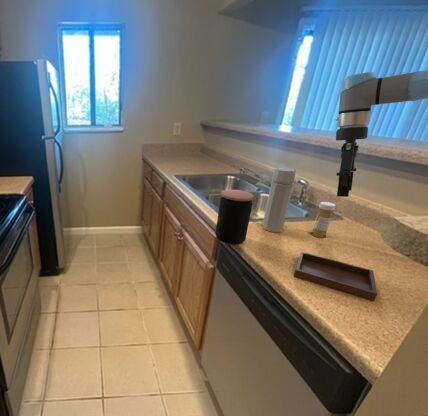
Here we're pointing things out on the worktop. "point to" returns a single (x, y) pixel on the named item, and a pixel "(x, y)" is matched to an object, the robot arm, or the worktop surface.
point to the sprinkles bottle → (323, 219)
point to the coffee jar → (233, 216)
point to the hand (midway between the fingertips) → (344, 193)
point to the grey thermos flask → (278, 199)
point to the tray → (337, 275)
